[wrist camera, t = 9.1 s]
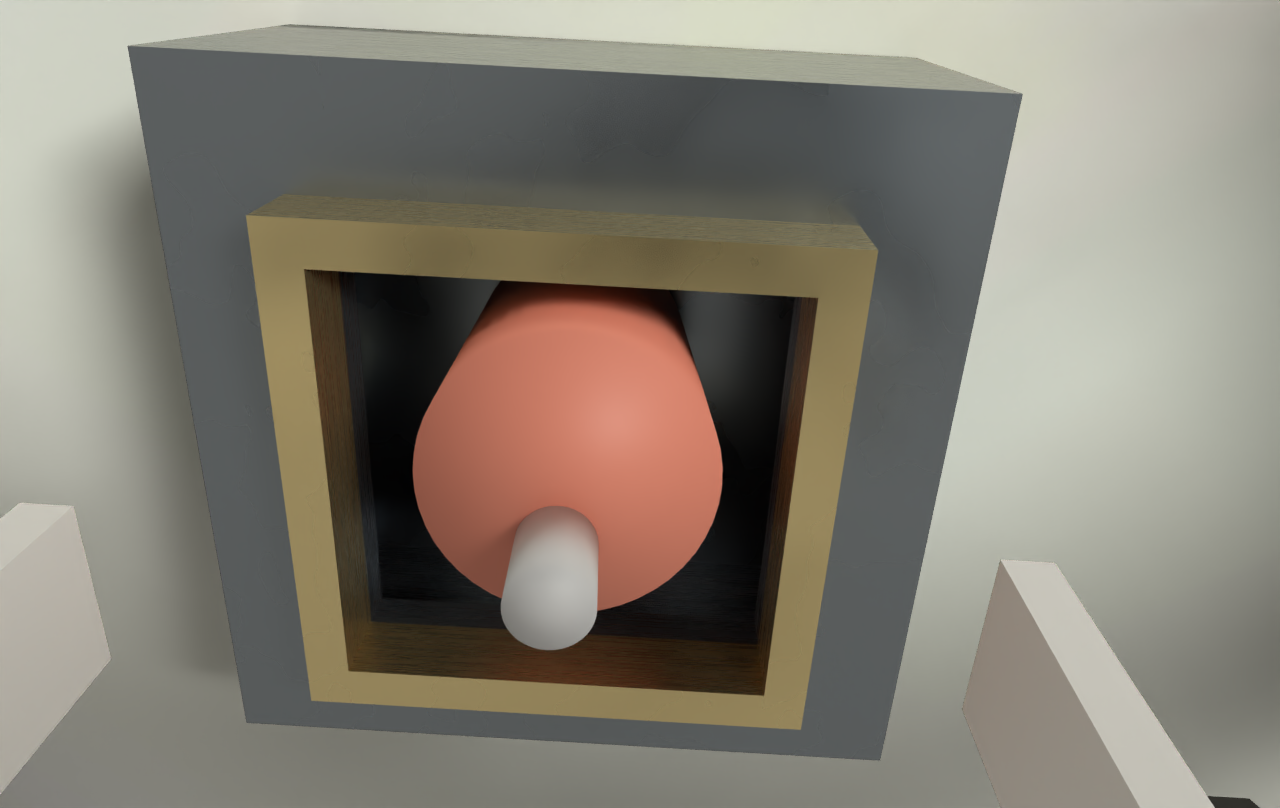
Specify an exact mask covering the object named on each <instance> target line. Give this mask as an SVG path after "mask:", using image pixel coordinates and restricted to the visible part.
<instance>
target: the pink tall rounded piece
mask: <svg viewBox="0 0 1280 808" xmlns="http://www.w3.org/2000/svg"><path fill="white" fill-rule="evenodd" d="M722 471H723V466H722V458H721V449H720V445H719V441H718V437H717V433H716V430H715V426H714V423H713V420H712V417H711V413H710V410H709V407H708V404H707V400H706V397H705V394H704V391H703V387H702V384H701V381H700V378H699V374H698V371H697V368H696V365H695V361H694V358H693V355H692V352H691V348H690V345H689V342H688V339H687V335H686V332H685V329H684V326H683V322H682V319H681V316H680V313H679V310H678V308H677V305H676V303H675V301H674V299H673V297H672V295H671V294H670V292H669V290H668V289H650V288H632V287H614V286H596V285H578V284H560V283H542V282H524V281H506V280H501V281H500V283H499V284H498V285H497V287H496V288H495V289H494V291H493V293H492V294H491V296H490V298H489V300H488V302H487V303H486V305H485V307H484V309H483V311H482V312H481V314H480V316H479V318H478V319H477V321H476V323H475V325H474V327H473V328H472V330H471V332H470V334H469V336H468V337H467V339H466V341H465V343H464V344H463V346H462V348H461V350H460V352H459V353H458V355H457V357H456V359H455V361H454V362H453V364H452V366H451V368H450V369H449V371H448V373H447V375H446V377H445V378H444V380H443V382H442V384H441V386H440V387H439V389H438V391H437V393H436V395H435V396H434V398H433V400H432V402H431V404H430V406H429V407H428V409H427V411H426V413H425V415H424V417H423V420H422V423H421V426H420V428H419V431H418V434H417V439H416V444H415V449H414V456H413V481H414V491H415V495H416V500H417V504H418V508H419V511H420V513H421V516H422V518H423V521H424V524H425V526H426V528H427V530H428V532H429V533H430V535H431V537H432V539H433V541H434V542H435V544H436V545H437V546H438V548H439V549H440V550H441V552H442V553H443V554H444V556H445V557H446V558H447V559H448V560H449V561H450V562H451V563H452V564H453V566H454V567H455V568H456V569H457V570H458V571H459V572H461V573H462V574H463V575H464V576H466V577H467V578H468V579H469V580H471V581H472V582H473V583H474V584H476V585H478V586H479V587H481V588H482V589H484V590H486V591H487V592H489V593H491V594H493V595H495V596H497V597H499V598H501V599H502V600H501V615H502V619H503V622H504V624H505V626H506V628H507V629H508V631H509V632H510V633H511V634H512V635H513V636H514V637H515V638H516V639H517V640H519V641H520V642H522V643H523V644H525V645H528V646H530V647H533V648H536V649H541V650H558V649H563V648H566V647H569V646H572V645H574V644H575V643H577V642H579V641H580V640H582V639H583V638H584V637H585V636H586V635H587V634H588V633H589V631H590V630H591V628H592V627H593V625H594V622H595V619H596V616H597V611H599V610H604V609H608V608H612V607H616V606H620V605H622V604H625V603H627V602H630V601H633V600H635V599H638V598H640V597H642V596H644V595H645V594H647V593H649V592H651V591H653V590H655V589H656V588H658V587H659V586H661V585H662V584H663V583H665V582H666V581H668V580H669V579H670V578H671V577H673V576H674V575H675V574H676V573H677V572H678V571H679V570H680V569H682V568H683V567H684V566H685V564H686V563H687V562H688V561H689V560H690V559H691V557H692V556H693V555H694V554H695V553H696V551H697V550H698V548H699V547H700V545H701V544H702V542H703V541H704V539H705V538H706V535H707V533H708V531H709V529H710V527H711V525H712V523H713V521H714V518H715V514H716V511H717V508H718V505H719V500H720V495H721V489H722Z"/></svg>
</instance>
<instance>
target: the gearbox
mask: <svg viewBox="0 0 1280 808" xmlns="http://www.w3.org/2000/svg"><path fill="white" fill-rule="evenodd" d="M128 51H129V57H130V62H131V68H132V74H133V79H134V85H135V91H136V96H137V102H138V108H139V113H140V119H141V125H142V130H143V136H144V142H145V148H146V153H147V159H148V165H149V170H150V176H151V182H152V187H153V193H154V199H155V204H156V210H157V216H158V221H159V227H160V233H161V238H162V244H163V250H164V255H165V261H166V267H167V273H168V278H169V284H170V290H171V295H172V301H173V307H174V312H175V318H176V324H177V329H178V335H179V341H180V346H181V352H182V358H183V363H184V369H185V375H186V381H187V386H188V392H189V398H190V403H191V409H192V415H193V420H194V426H195V432H196V437H197V443H198V449H199V454H200V460H201V466H202V471H203V477H204V483H205V489H206V494H207V500H208V506H209V511H210V517H211V523H212V528H213V534H214V540H215V545H216V551H217V557H218V562H219V568H220V574H221V579H222V585H223V591H224V596H225V602H226V608H227V614H228V619H229V625H230V631H231V636H232V642H233V648H234V653H235V659H236V665H237V670H238V676H239V682H240V687H241V693H242V699H243V704H244V710H245V716H246V722H247V723H260V724H277V725H293V726H310V727H327V728H344V729H360V730H377V731H394V732H411V733H427V734H444V735H461V736H478V737H494V738H511V739H528V740H545V741H561V742H578V743H595V744H612V745H628V746H645V747H662V748H679V749H695V750H712V751H729V752H746V753H762V754H779V755H796V756H813V757H829V758H846V759H863V760H880V758H881V753H882V749H883V744H884V739H885V735H886V730H887V725H888V720H889V716H890V711H891V706H892V702H893V697H894V692H895V688H896V683H897V678H898V674H899V669H900V664H901V660H902V655H903V650H904V646H905V641H906V636H907V632H908V627H909V622H910V618H911V613H912V608H913V604H914V599H915V594H916V590H917V585H918V580H919V576H920V571H921V566H922V562H923V557H924V552H925V548H926V543H927V538H928V534H929V529H930V524H931V520H932V515H933V510H934V506H935V501H936V496H937V492H938V487H939V482H940V477H941V473H942V468H943V463H944V459H945V454H946V449H947V445H948V440H949V435H950V431H951V426H952V421H953V417H954V412H955V407H956V403H957V398H958V393H959V389H960V384H961V379H962V375H963V370H964V365H965V361H966V356H967V351H968V347H969V342H970V337H971V333H972V328H973V323H974V319H975V314H976V309H977V305H978V300H979V295H980V291H981V286H982V281H983V277H984V272H985V267H986V263H987V258H988V253H989V249H990V244H991V239H992V235H993V230H994V225H995V220H996V216H997V211H998V206H999V202H1000V197H1001V192H1002V188H1003V183H1004V178H1005V174H1006V169H1007V164H1008V160H1009V155H1010V150H1011V146H1012V141H1013V136H1014V132H1015V127H1016V122H1017V118H1018V113H1019V108H1020V104H1021V99H1022V94H1021V93H1018V92H1015V91H1012V90H1009V89H1006V88H1004V87H1001V86H998V85H995V84H992V83H989V82H986V81H983V80H980V79H977V78H974V77H971V76H968V75H965V74H962V73H960V72H957V71H954V70H951V69H948V68H945V67H942V66H939V65H936V64H933V63H930V62H927V61H924V60H921V59H918V58H908V57H889V56H870V55H852V54H833V53H814V52H796V51H777V50H758V49H740V48H721V47H702V46H684V45H665V44H646V43H628V42H609V41H590V40H571V39H553V38H534V37H515V36H497V35H478V34H459V33H441V32H422V31H403V30H385V29H366V28H347V27H329V26H310V25H291V24H290V25H282V26H275V27H267V28H260V29H252V30H244V31H237V32H229V33H222V34H214V35H206V36H199V37H191V38H183V39H176V40H168V41H161V42H153V43H145V44H138V45H130V46H128ZM501 280H506V281H524V282H542V283H560V284H578V285H596V286H614V287H632V288H650V289H668V290H669V292H670V294H671V295H672V297H673V299H674V301H675V303H676V305H677V308H678V310H679V313H680V316H681V319H682V322H683V326H684V329H685V332H686V335H687V339H688V342H689V345H690V348H691V352H692V355H693V358H694V361H695V365H696V368H697V371H698V374H699V378H700V381H701V384H702V387H703V391H704V394H705V397H706V400H707V404H708V407H709V410H710V413H711V417H712V420H713V423H714V426H715V430H716V433H717V437H718V441H719V445H720V449H721V458H722V466H723V471H722V489H721V495H720V500H719V505H718V508H717V511H716V514H715V518H714V521H713V523H712V525H711V527H710V529H709V531H708V533H707V535H706V538H705V539H704V541H703V542H702V544H701V545H700V547H699V548H698V550H697V551H696V553H695V554H694V555H693V556H692V557H691V559H690V560H689V561H688V562H687V563H686V564H685V566H684V567H683V568H682V569H680V570H679V571H678V572H677V573H676V574H675V575H674V576H673V577H671V578H670V579H669V580H668V581H666V582H665V583H663V584H662V585H661V586H659V587H658V588H656V589H655V590H653V591H651V592H649V593H647V594H645V595H644V596H642V597H640V598H638V599H635V600H633V601H630V602H627V603H625V604H622V605H620V606H616V607H612V608H608V609H604V610H599V611H597V616H596V619H595V622H594V625H593V627H592V628H591V630H590V631H589V633H588V634H587V635H586V636H585V637H584V638H583V639H582V640H580V641H579V642H577V643H575V644H574V645H572V646H569V647H566V648H563V649H558V650H541V649H536V648H533V647H530V646H528V645H525V644H523V643H522V642H520V641H519V640H517V639H516V638H515V637H514V636H513V635H512V634H511V633H510V632H509V631H508V629H507V628H506V626H505V624H504V622H503V619H502V615H501V600H502V599H501V598H499V597H497V596H495V595H493V594H491V593H489V592H487V591H486V590H484V589H482V588H481V587H479V586H478V585H476V584H474V583H473V582H472V581H471V580H469V579H468V578H467V577H466V576H464V575H463V574H462V573H461V572H459V571H458V570H457V569H456V568H455V567H454V566H453V564H452V563H451V562H450V561H449V560H448V559H447V558H446V557H445V556H444V554H443V553H442V552H441V550H440V549H439V548H438V546H437V545H436V544H435V542H434V541H433V539H432V537H431V535H430V533H429V532H428V530H427V528H426V526H425V524H424V521H423V518H422V516H421V513H420V511H419V508H418V504H417V500H416V495H415V491H414V481H413V456H414V449H415V444H416V439H417V434H418V431H419V428H420V426H421V423H422V420H423V417H424V415H425V413H426V411H427V409H428V407H429V406H430V404H431V402H432V400H433V398H434V396H435V395H436V393H437V391H438V389H439V387H440V386H441V384H442V382H443V380H444V378H445V377H446V375H447V373H448V371H449V369H450V368H451V366H452V364H453V362H454V361H455V359H456V357H457V355H458V353H459V352H460V350H461V348H462V346H463V344H464V343H465V341H466V339H467V337H468V336H469V334H470V332H471V330H472V328H473V327H474V325H475V323H476V321H477V319H478V318H479V316H480V314H481V312H482V311H483V309H484V307H485V305H486V303H487V302H488V300H489V298H490V296H491V294H492V293H493V291H494V289H495V288H496V287H497V285H498V284H499V283H500V281H501Z"/></svg>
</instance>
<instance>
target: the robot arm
mask: <svg viewBox="0 0 1280 808" xmlns="http://www.w3.org/2000/svg"><path fill="white" fill-rule="evenodd" d="M110 660H111V655H110V651H109V647H108V643H107V639H106V635H105V631H104V627H103V623H102V619H101V615H100V611H99V607H98V602H97V598H96V594H95V590H94V586H93V582H92V578H91V574H90V570H89V566H88V562H87V558H86V554H85V550H84V546H83V542H82V538H81V534H80V530H79V526H78V522H77V518H76V514H75V510H74V506H69V505H52V504H34V503H19V504H18V505H16V506H15V507H14V508H13V509H11V510H10V511H9V512H8V513H6V514H5V515H4V516H3V517H2V518H0V794H1V793H2V792H3V791H4V790H5V788H6V787H7V786H8V785H9V783H10V782H11V781H12V780H13V779H14V777H15V776H16V775H17V774H18V772H19V771H20V770H21V769H22V768H23V766H24V765H25V764H26V763H27V761H28V760H29V759H30V758H31V757H32V755H33V754H34V753H35V752H36V750H37V749H38V748H39V747H40V746H41V744H42V743H43V742H44V741H45V739H46V738H47V737H48V736H49V735H50V733H51V732H52V731H53V730H54V728H55V727H56V726H57V725H58V724H59V722H60V721H61V720H62V719H63V717H64V716H65V715H66V714H67V713H68V711H69V710H70V709H71V708H72V706H73V705H74V704H75V703H76V702H77V700H78V699H79V698H80V697H81V695H82V694H83V693H84V692H85V691H86V689H87V688H88V687H89V686H90V684H91V683H92V682H93V681H94V680H95V678H96V677H97V676H98V675H99V673H100V672H101V671H102V670H103V669H104V667H105V666H106V665H107V664H108V662H109V661H110ZM962 710H963V713H964V715H965V718H966V720H967V723H968V726H969V728H970V731H971V733H972V736H973V738H974V741H975V743H976V746H977V748H978V751H979V753H980V756H981V758H982V761H983V764H984V766H985V769H986V771H987V774H988V776H989V779H990V781H991V784H992V786H993V789H994V791H995V794H996V796H997V799H998V801H999V804H1000V807H1001V808H1259V807H1258V806H1257V805H1256V804H1255V803H1254V802H1252V801H1251V800H1250V799H1246V798H1229V797H1212V796H1207V795H1206V793H1205V792H1204V790H1203V789H1202V787H1201V786H1200V784H1199V783H1198V781H1197V780H1196V778H1195V777H1194V775H1193V773H1192V772H1191V770H1190V769H1189V767H1188V766H1187V764H1186V763H1185V761H1184V760H1183V758H1182V757H1181V755H1180V754H1179V752H1178V750H1177V749H1176V747H1175V746H1174V744H1173V743H1172V741H1171V740H1170V738H1169V737H1168V735H1167V734H1166V732H1165V731H1164V729H1163V727H1162V726H1161V724H1160V723H1159V721H1158V720H1157V718H1156V717H1155V715H1154V714H1153V712H1152V711H1151V709H1150V707H1149V706H1148V704H1147V703H1146V701H1145V700H1144V698H1143V697H1142V695H1141V694H1140V692H1139V691H1138V689H1137V688H1136V686H1135V684H1134V683H1133V681H1132V680H1131V678H1130V677H1129V675H1128V674H1127V672H1126V671H1125V669H1124V668H1123V666H1122V665H1121V663H1120V661H1119V660H1118V658H1117V657H1116V655H1115V654H1114V652H1113V651H1112V649H1111V648H1110V646H1109V645H1108V643H1107V642H1106V640H1105V638H1104V637H1103V635H1102V634H1101V632H1100V631H1099V629H1098V628H1097V626H1096V625H1095V623H1094V622H1093V620H1092V618H1091V617H1090V615H1089V614H1088V612H1087V611H1086V609H1085V608H1084V606H1083V605H1082V603H1081V602H1080V600H1079V599H1078V597H1077V595H1076V594H1075V592H1074V591H1073V589H1072V588H1071V586H1070V585H1069V583H1068V582H1067V580H1066V579H1065V577H1064V576H1063V574H1062V572H1061V571H1060V569H1059V568H1058V566H1057V565H1056V563H1053V562H1036V561H1019V560H1002V559H1000V563H999V567H998V571H997V575H996V579H995V583H994V587H993V591H992V595H991V598H990V602H989V606H988V610H987V614H986V618H985V622H984V626H983V630H982V633H981V637H980V641H979V645H978V649H977V653H976V657H975V661H974V665H973V668H972V672H971V676H970V680H969V684H968V688H967V692H966V696H965V700H964V704H963V707H962Z"/></svg>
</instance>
